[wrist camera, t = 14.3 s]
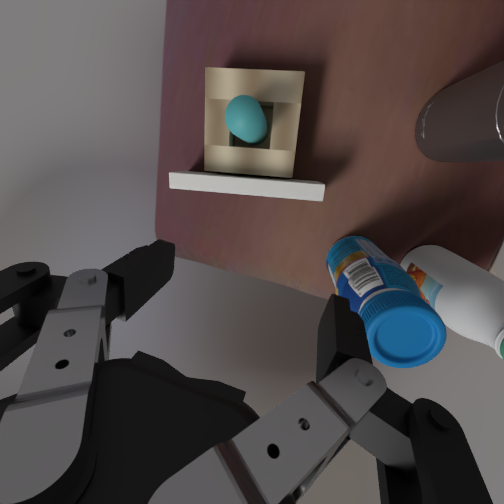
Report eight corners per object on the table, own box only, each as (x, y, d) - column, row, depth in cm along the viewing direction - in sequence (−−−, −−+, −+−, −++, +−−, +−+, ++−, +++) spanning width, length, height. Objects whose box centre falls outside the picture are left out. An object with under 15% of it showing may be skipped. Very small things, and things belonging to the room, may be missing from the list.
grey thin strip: (410, 237, 39) (527, 306, 20) (461, 251, 38) (628, 334, 20) (389, 281, 41) (473, 379, 23) (436, 294, 41) (562, 404, 22)
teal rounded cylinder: (270, 114, 35) (264, 95, 26) (267, 145, 37) (260, 138, 27) (241, 113, 36) (225, 93, 26) (239, 143, 37) (224, 136, 28)
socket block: (302, 84, 34) (305, 71, 30) (291, 176, 38) (292, 177, 34) (216, 80, 36) (205, 67, 31) (214, 169, 40) (204, 170, 35)
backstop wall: (318, 181, 38) (325, 184, 31) (316, 195, 38) (322, 201, 32) (188, 171, 40) (169, 172, 33) (188, 184, 40) (169, 188, 34)
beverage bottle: (384, 235, 39) (474, 300, 20) (374, 285, 42) (445, 383, 23) (327, 232, 40) (363, 292, 21) (321, 281, 43) (348, 371, 24)
